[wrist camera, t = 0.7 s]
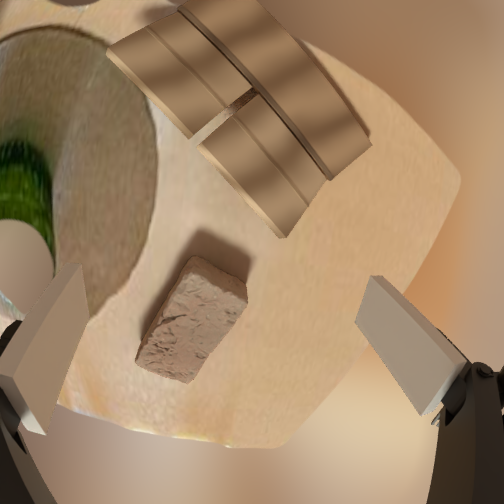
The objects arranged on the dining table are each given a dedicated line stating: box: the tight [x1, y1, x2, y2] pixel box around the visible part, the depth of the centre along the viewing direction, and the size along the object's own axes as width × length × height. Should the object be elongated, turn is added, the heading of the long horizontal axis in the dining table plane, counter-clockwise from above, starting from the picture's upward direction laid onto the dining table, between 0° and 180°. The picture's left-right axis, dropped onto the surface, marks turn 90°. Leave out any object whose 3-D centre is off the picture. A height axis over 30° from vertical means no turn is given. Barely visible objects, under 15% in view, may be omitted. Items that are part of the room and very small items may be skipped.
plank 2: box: [196, 94, 326, 238], centre depth 29 cm, size 12×9×1 cm
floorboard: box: [177, 0, 372, 181], centre depth 28 cm, size 26×7×2 cm, turn 40°
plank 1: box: [106, 12, 252, 139], centre depth 24 cm, size 12×9×1 cm
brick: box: [135, 256, 248, 384], centre depth 37 cm, size 16×8×5 cm, turn 146°
